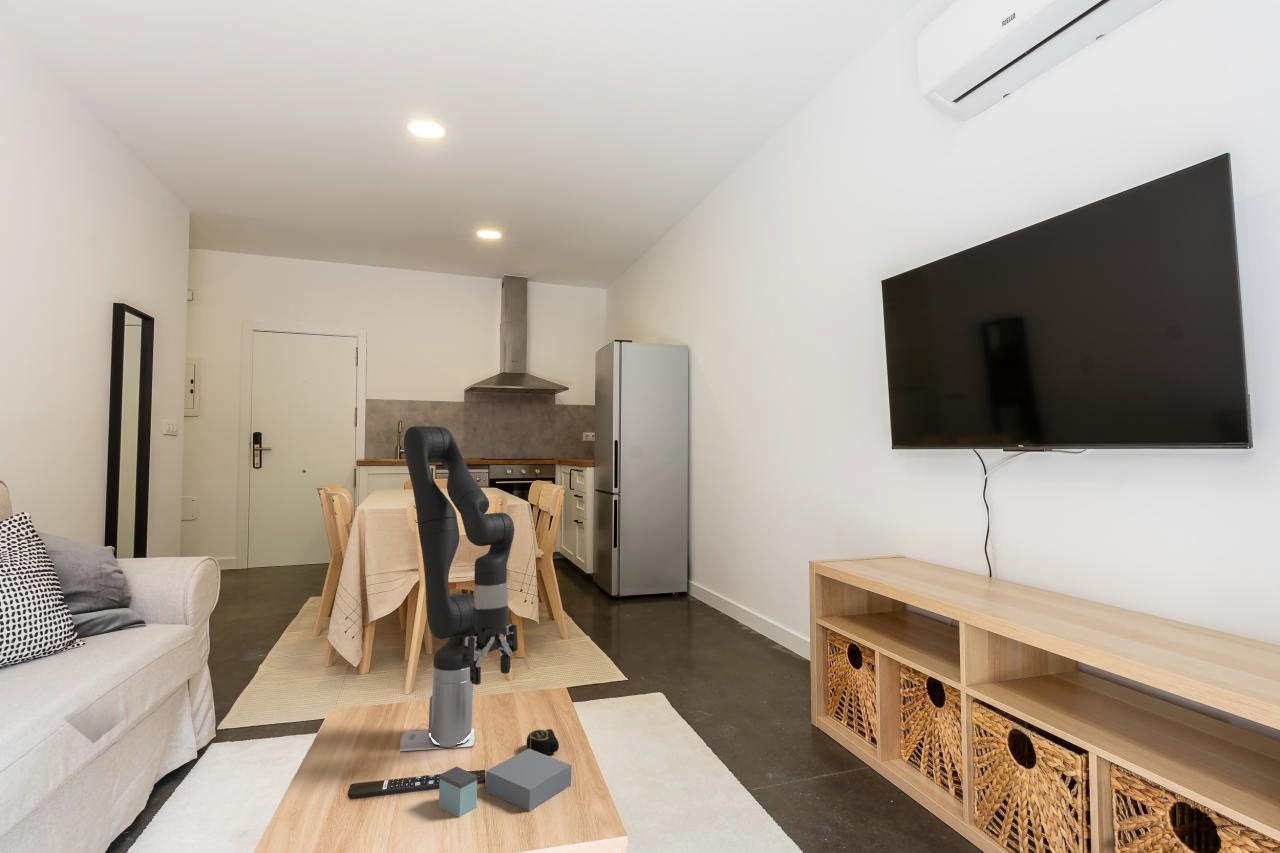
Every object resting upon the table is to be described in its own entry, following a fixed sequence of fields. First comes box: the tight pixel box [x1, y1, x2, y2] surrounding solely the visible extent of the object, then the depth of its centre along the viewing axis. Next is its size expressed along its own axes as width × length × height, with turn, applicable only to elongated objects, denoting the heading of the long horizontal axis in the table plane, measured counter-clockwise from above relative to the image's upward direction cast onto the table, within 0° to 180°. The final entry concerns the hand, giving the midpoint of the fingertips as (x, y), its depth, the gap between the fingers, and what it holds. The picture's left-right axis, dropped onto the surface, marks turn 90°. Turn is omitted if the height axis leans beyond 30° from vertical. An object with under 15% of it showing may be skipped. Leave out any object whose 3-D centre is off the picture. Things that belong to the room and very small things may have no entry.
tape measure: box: [526, 728, 560, 755], centre depth 144 cm, size 7×7×4 cm
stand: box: [485, 749, 572, 812], centre depth 128 cm, size 12×12×4 cm
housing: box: [438, 766, 478, 818], centre depth 121 cm, size 6×4×6 cm, turn 56°
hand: (490, 678), depth 140 cm, fingers open, 8 cm apart
